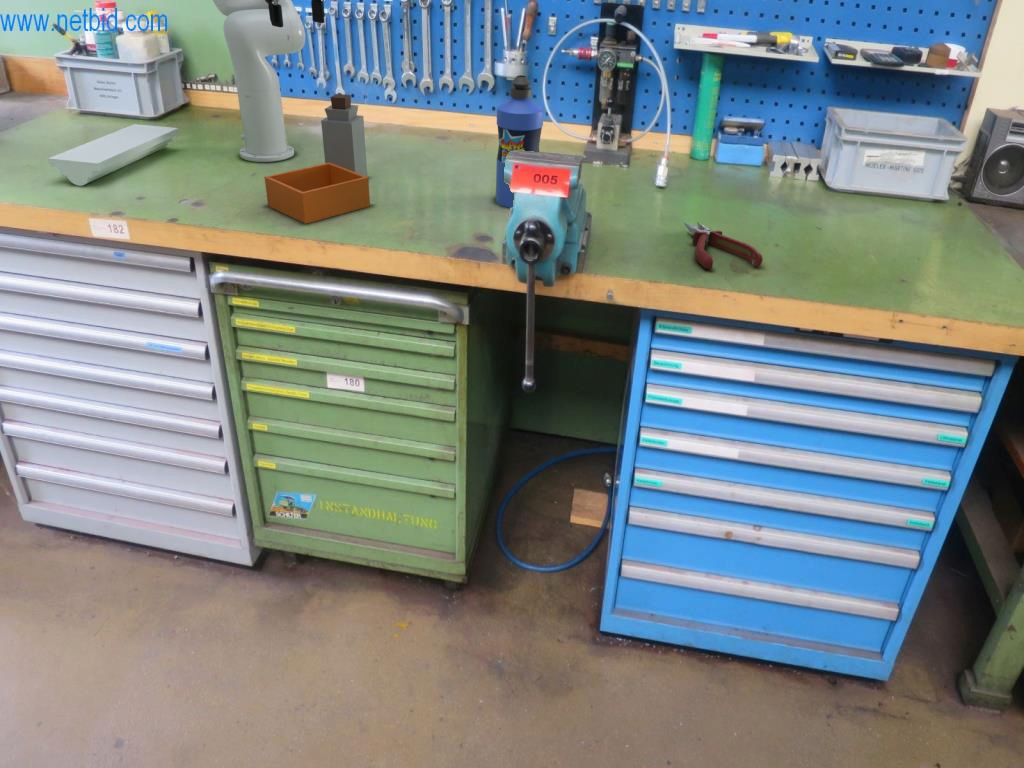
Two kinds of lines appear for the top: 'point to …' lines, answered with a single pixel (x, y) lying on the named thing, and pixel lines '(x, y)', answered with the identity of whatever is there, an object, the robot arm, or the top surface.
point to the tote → (317, 192)
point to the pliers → (720, 246)
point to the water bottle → (516, 131)
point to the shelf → (111, 152)
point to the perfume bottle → (344, 135)
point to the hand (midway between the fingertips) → (298, 24)
